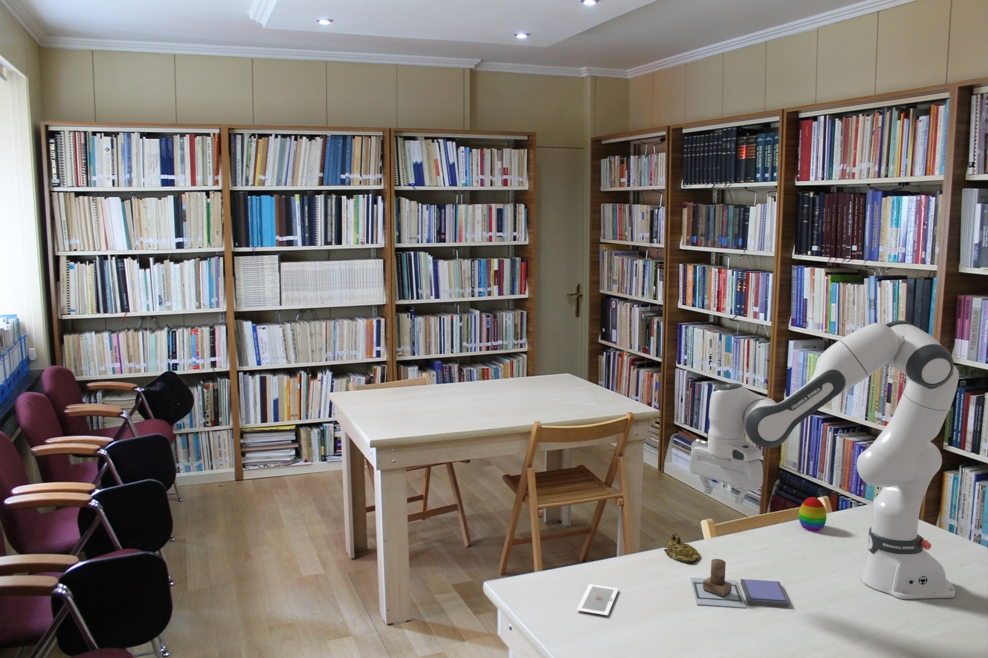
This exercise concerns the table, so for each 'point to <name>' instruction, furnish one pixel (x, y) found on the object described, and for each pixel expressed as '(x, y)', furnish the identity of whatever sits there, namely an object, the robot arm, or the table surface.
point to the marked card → (713, 600)
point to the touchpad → (598, 599)
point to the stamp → (717, 579)
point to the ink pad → (764, 593)
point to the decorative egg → (812, 514)
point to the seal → (681, 550)
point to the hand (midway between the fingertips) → (723, 497)
